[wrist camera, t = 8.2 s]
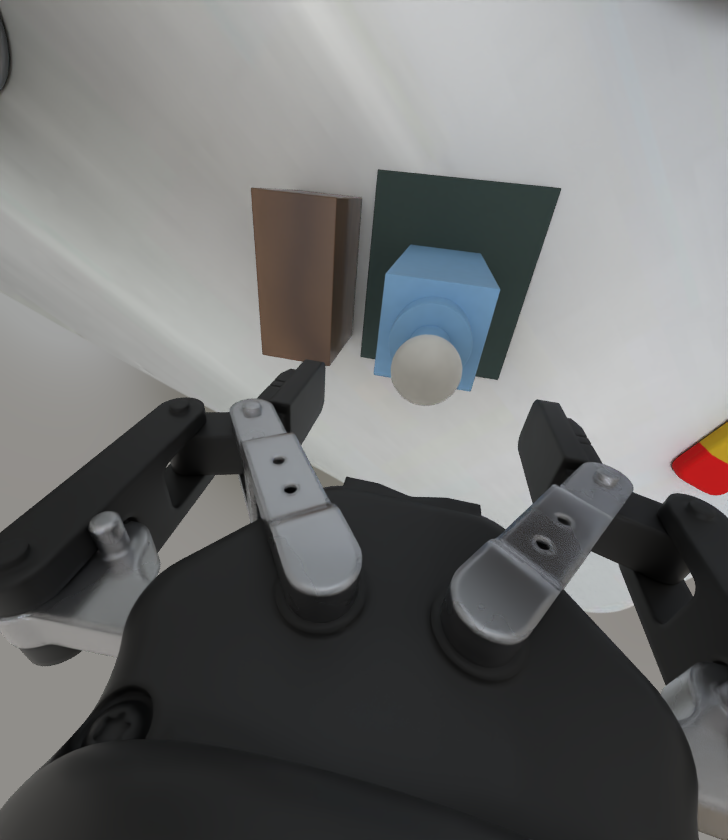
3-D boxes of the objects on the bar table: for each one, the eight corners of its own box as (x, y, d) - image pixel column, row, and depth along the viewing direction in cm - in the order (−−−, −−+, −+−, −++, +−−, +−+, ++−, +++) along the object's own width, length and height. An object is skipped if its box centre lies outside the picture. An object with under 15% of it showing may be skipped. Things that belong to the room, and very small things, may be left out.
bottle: (462, 247, 32) (675, 314, 17) (447, 313, 35) (615, 418, 20) (313, 238, 28) (421, 316, 13) (312, 314, 31) (397, 448, 16)
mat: (361, 355, 37) (360, 356, 37) (378, 169, 28) (377, 169, 28) (497, 378, 35) (497, 380, 35) (560, 188, 27) (561, 188, 26)
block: (295, 326, 37) (262, 354, 30) (294, 189, 30) (250, 187, 24) (351, 335, 36) (329, 366, 30) (362, 197, 30) (336, 197, 23)
